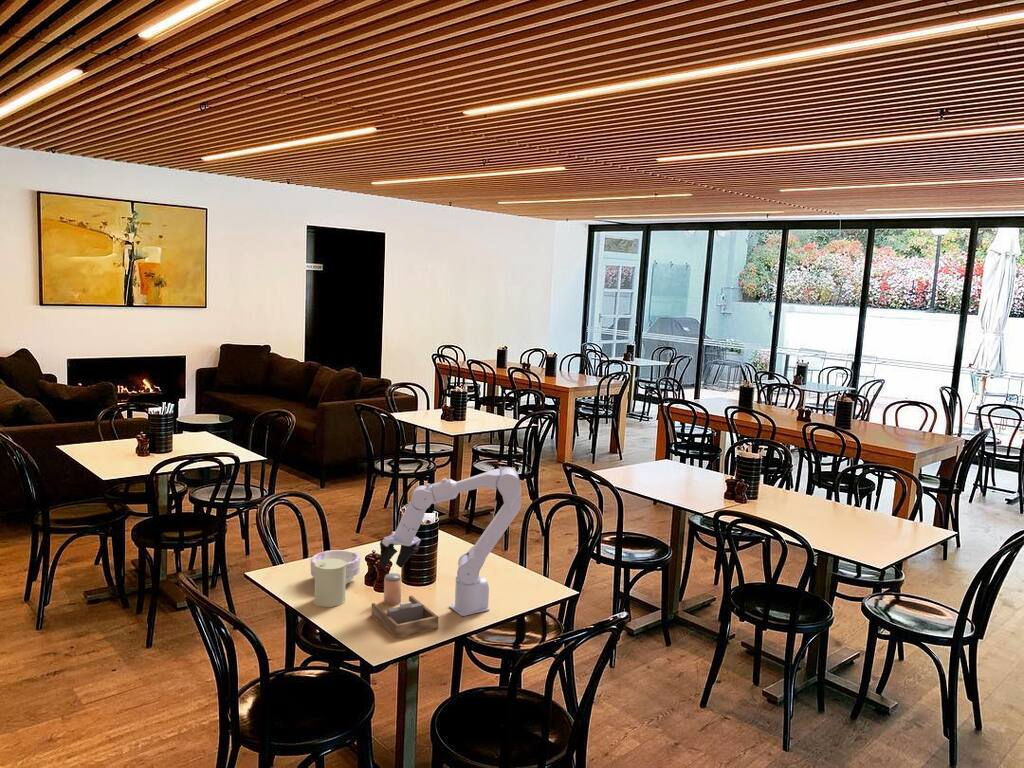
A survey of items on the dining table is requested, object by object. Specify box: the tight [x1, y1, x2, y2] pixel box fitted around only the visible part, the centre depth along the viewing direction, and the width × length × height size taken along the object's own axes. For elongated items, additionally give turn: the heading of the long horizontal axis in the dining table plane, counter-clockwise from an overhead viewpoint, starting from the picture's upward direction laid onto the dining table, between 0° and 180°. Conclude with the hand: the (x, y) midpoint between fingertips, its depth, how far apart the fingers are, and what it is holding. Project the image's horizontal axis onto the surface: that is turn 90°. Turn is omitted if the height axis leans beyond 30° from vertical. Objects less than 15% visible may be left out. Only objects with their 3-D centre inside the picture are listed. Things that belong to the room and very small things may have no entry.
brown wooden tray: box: [370, 595, 440, 639], centre depth 226 cm, size 13×17×4 cm
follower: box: [386, 600, 425, 624], centre depth 226 cm, size 10×2×5 cm, turn 123°
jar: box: [383, 572, 402, 606], centre depth 240 cm, size 5×5×8 cm
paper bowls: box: [310, 549, 361, 585], centre depth 254 cm, size 15×15×8 cm
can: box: [313, 558, 347, 608], centre depth 238 cm, size 9×9×12 cm
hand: (390, 566), depth 235 cm, fingers open, 7 cm apart
